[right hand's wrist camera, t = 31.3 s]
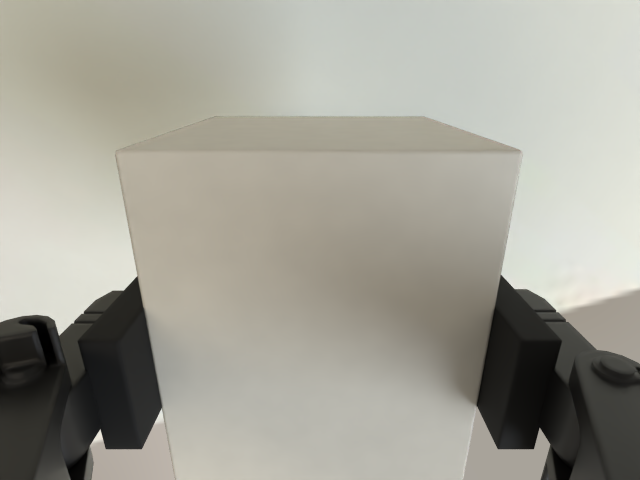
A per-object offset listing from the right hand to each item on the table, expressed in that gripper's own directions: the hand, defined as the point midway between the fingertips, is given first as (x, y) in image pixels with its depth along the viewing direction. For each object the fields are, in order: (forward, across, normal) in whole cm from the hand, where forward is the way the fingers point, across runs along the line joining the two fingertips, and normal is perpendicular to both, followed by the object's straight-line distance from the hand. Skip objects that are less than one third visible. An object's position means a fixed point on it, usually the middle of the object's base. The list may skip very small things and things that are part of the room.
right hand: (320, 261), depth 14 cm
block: (+2, 0, 0) cm, 2 cm away
